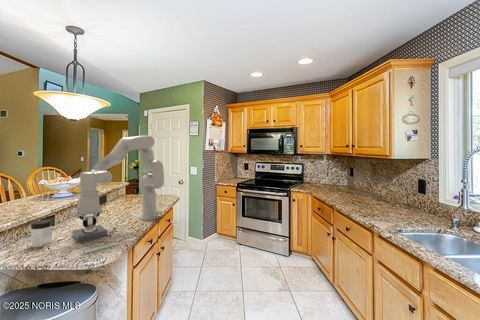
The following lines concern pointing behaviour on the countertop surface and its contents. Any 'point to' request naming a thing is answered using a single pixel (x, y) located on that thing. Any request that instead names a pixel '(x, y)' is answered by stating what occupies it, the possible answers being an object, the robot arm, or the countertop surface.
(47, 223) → the jar
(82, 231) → the housing
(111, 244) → the mat
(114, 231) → the countertop surface
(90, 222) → the grey rounded knob
